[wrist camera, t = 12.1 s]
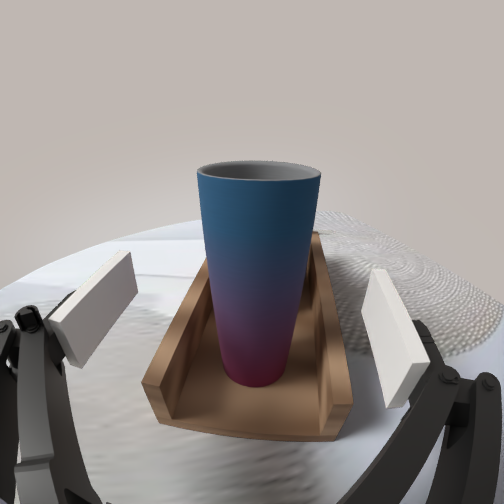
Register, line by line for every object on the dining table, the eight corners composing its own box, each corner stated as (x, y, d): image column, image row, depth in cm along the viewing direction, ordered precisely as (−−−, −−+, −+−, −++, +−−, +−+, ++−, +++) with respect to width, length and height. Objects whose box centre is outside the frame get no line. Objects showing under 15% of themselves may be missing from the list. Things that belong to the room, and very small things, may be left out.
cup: (305, 346, 24) (327, 166, 17) (283, 407, 18) (309, 186, 11) (232, 328, 26) (229, 158, 19) (196, 380, 20) (171, 175, 14)
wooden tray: (333, 441, 16) (363, 382, 13) (158, 422, 17) (132, 360, 14) (313, 265, 39) (319, 216, 36) (224, 259, 40) (223, 211, 37)
